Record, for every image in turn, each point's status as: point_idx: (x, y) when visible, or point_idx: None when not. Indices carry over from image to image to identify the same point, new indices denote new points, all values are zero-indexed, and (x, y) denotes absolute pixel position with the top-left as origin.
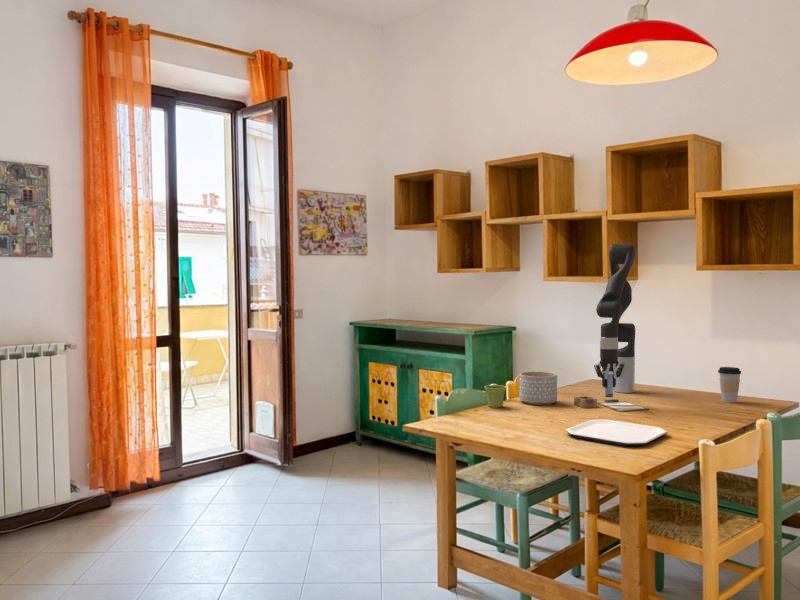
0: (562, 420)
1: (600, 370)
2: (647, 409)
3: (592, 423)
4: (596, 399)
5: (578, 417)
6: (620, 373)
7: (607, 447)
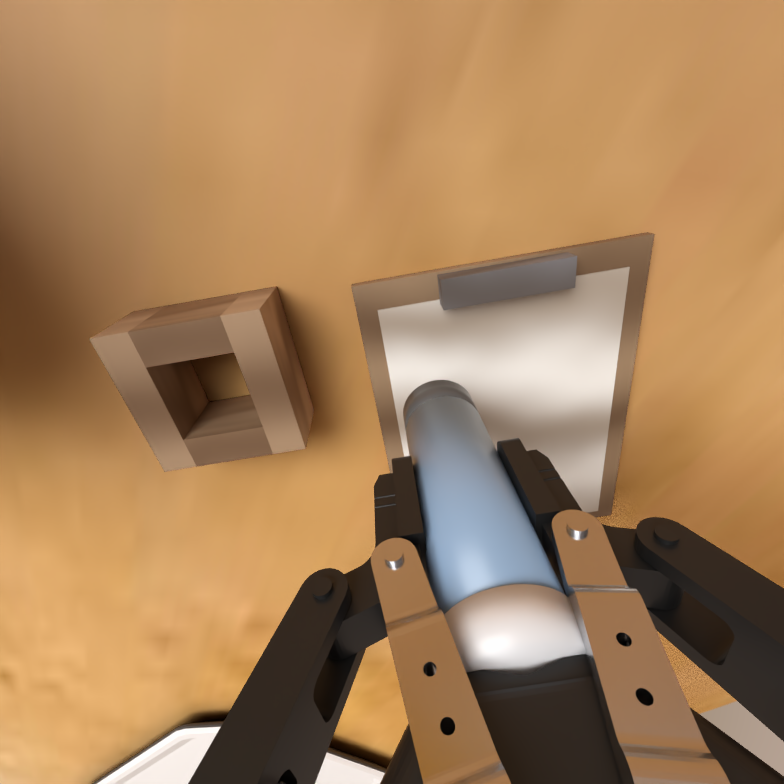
0: (59, 666)
1: (306, 778)
2: (598, 514)
3: (183, 743)
4: (301, 447)
5: (143, 627)
6: (704, 632)
7: None
